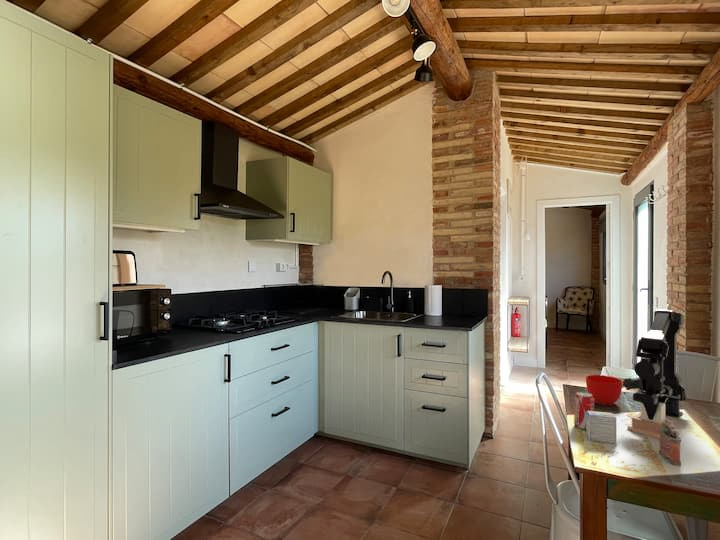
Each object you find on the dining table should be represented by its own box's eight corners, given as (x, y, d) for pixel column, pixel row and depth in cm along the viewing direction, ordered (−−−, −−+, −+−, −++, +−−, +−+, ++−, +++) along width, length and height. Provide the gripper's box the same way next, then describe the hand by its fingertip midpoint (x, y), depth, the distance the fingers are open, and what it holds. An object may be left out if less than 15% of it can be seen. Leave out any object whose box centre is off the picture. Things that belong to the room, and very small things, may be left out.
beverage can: (570, 424, 143) (570, 391, 143) (586, 423, 144) (586, 390, 144) (581, 431, 137) (581, 397, 137) (598, 430, 138) (598, 396, 138)
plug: (644, 421, 140) (644, 398, 140) (665, 426, 135) (665, 403, 135) (640, 423, 138) (640, 401, 138) (661, 429, 133) (661, 406, 133)
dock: (638, 422, 144) (638, 411, 144) (679, 433, 135) (679, 421, 135) (627, 429, 138) (627, 417, 138) (669, 441, 129) (669, 428, 129)
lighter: (684, 466, 113) (684, 431, 113) (670, 465, 114) (670, 430, 113) (668, 453, 121) (668, 420, 121) (655, 452, 121) (655, 420, 121)
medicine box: (613, 438, 131) (612, 412, 131) (616, 444, 127) (616, 417, 127) (586, 435, 134) (586, 410, 134) (589, 441, 130) (589, 414, 130)
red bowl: (611, 395, 174) (611, 373, 174) (627, 409, 157) (627, 384, 157) (578, 394, 177) (578, 371, 177) (592, 407, 160) (591, 382, 160)
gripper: (636, 364, 148) (636, 405, 148) (615, 372, 137) (615, 417, 137) (672, 370, 139) (672, 414, 139) (653, 380, 128) (653, 427, 128)
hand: (652, 417), depth 136 cm, fingers closed on plug, 4 cm apart
